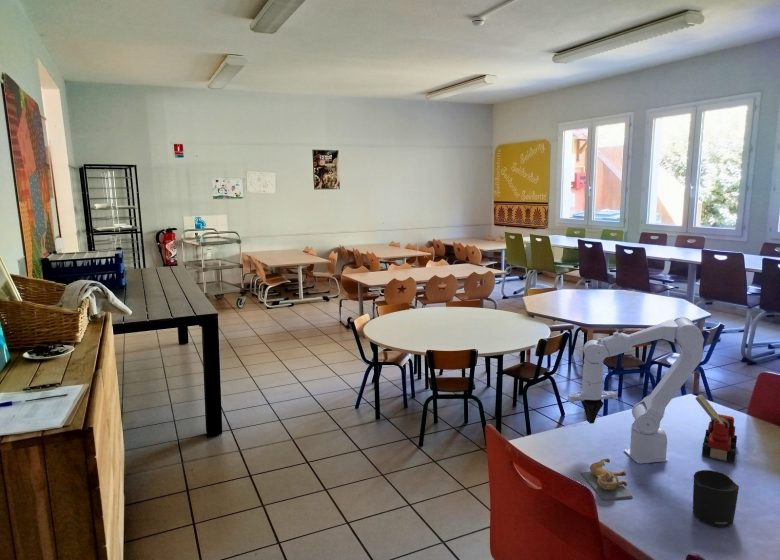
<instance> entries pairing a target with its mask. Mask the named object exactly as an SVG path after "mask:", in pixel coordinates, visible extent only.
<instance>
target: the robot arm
mask: <svg viewBox="0 0 780 560" xmlns="http://www.w3.org/2000/svg"><path fill="white" fill-rule="evenodd" d="M702 333H703V332H702V331H701V329H700V328H699V327H698V326H696V325H695V324H694V322H693V321H692V320H691V319H690V318H687V317H685V316H679V317H677V318H675V319H668V320H667V319H666V320H665V321H663V322H660V323H658V324H655V325H652V326H650V327H647V328H644V329H641V330H638V331H636V332H633V333H630V334H627V333H624V332H619V331H615V332H613V333H612V334H613V335H609V336H605V337H603V338H601V337H598V338H597V340H595V339H590V340H588V341H586V342H585V344H583V345H584V346H583V347H582V351H583V354H584V355H583V357H584V358H583V364H582V365H583V366H582V381H581V383H582V385H581V391H578V392H577V391H576V392H573V393H568V394H567V401H568V402H569V403H574V402H580V403H581V404H582V407H583V409H584V412H585V416H586V422H588V423H589V424H595V422H596V419H597V417H598V416H597V415H598V413H599V412H600V410H601V409H602V408H603V407H604V402H603V401H602V400H610V399H611V400H616V399H617V393H616V392H614V391H613V390H603V384H604V383H603V382H604V361H605V359H606V358H610V357H614V356H617V355H620V354H623V353H627V352H630V351H631V349H632V347H634V346H636V345H637V346H638V345H640V344H645V343H648V342H652V341H653V342H654V341H656V340H661V339H662V340H665V341H669V342H670V343H675V340H676V341H677V345H678V348H679V351H680V354H679V355H678V357H677V358H676V359H675V360H674V362H673V363H672V364H671V366H670V367H669V369H668V370H667V371H666V373H665V374H664V376H662V377H661V380H660V381H659V382H658V383H657V385H656V386H655V387H654V389H653V390H652V391H651V392H650V394H649V395H647V396H645V397H643V399H641V401H639V402H637V403H635V404H634V406H633V407H632V409H631V414H632V417H633V418H634V420H633V423H632V424H631V430H630V431H631V432H630V444H629V448H626V449H625V448H624V449H623V452H625V454H626V455H628V456H629V457H630V459H632V460H633V461H634V462H635V463H637V464H649V463H651V464H652V463H660V462H661V463H663V462H668V458H667V448H668V438H667V437H668V435H667V433H666V432H665V430H664V429H663V428H662V427H660V425H661V421H662V420H663V418H664V415H665V410H666V407H667V406H668V405H669V404H670V403H671V401H672V400H673V398H674V397H675V396H676V395H677V394H678V392H679V390H680V389H681V388H682V387H683V385H684V384H685V383H686V382H687V380H688V379H689V377H690V376H691V375H692V373H693V372H694V371H695V369H696V368H698V366H699V364H700V363H701V362H702V360H703V358H704V356H703V355H704V354H703V353H704V350H703V349H704V342H705V338H704V336H703V334H702Z"/></svg>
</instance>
